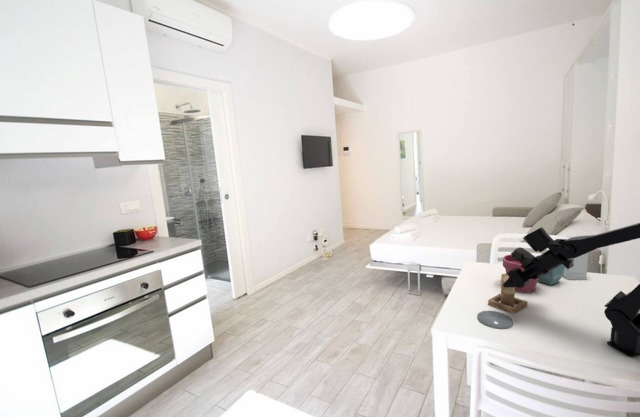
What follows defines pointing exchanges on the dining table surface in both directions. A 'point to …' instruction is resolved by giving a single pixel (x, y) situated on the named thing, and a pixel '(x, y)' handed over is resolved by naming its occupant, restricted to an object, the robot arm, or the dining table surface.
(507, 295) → the oak post
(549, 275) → the flower pot
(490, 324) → the slate coaster
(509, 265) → the plant pot
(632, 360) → the dining table surface
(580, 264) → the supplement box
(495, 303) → the pocket frame
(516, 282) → the robot arm
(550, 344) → the dining table surface
